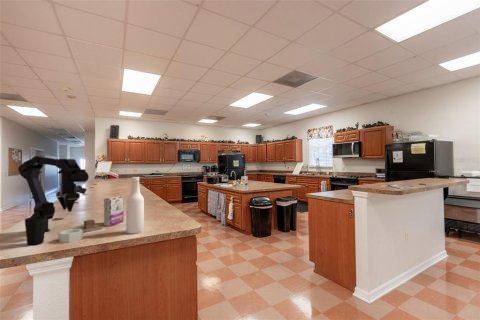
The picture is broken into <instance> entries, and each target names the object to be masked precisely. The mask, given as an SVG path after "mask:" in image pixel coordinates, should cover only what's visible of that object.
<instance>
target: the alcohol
mask: <svg viewBox="0 0 480 320" xmlns="http://www.w3.org/2000/svg"><path fill="white" fill-rule="evenodd" d="M130 187H131V188H130V193H129V195H128V196H127V197H126V203H125V204H126V210H125V211H126V214H125V215H126V219H125V232H126V234H129V235H136V234H140V233H142V232H143V231H144V229H145V198H144V196H143V195H142V194H141V188H140V176H133V177H131V185H130Z"/></svg>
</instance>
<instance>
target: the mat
mask: <svg viewBox="0 0 480 320" xmlns="http://www.w3.org/2000/svg"><path fill="white" fill-rule="evenodd" d="M105 231H107V229H106V228H104V227H103V229H101V230H96V231H91V232H87V233H83V236H87V235H92V234H96V233H100V232H105Z"/></svg>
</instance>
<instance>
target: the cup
mask: <svg viewBox="0 0 480 320" xmlns="http://www.w3.org/2000/svg"><path fill="white" fill-rule="evenodd" d="M46 219H47V217H46V216H37V217H31V216H30V217H26V218H24V227H25V228H24V229H25V233H26V234H25V235H26V236H25V237H26V245H27V246H29V247H34V246H38V245H42V244H43V243H44V241H45V233H46V232H45V227H46Z"/></svg>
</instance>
